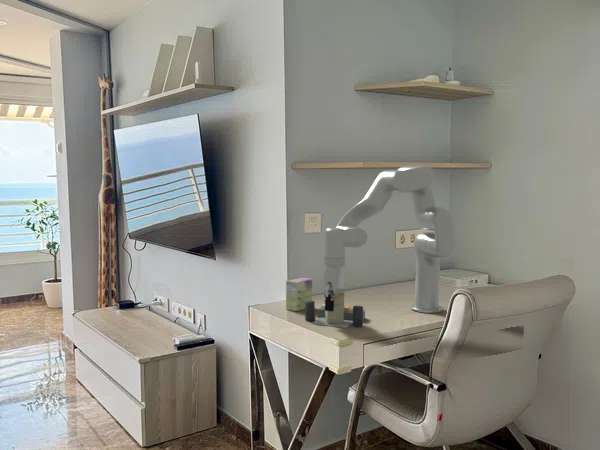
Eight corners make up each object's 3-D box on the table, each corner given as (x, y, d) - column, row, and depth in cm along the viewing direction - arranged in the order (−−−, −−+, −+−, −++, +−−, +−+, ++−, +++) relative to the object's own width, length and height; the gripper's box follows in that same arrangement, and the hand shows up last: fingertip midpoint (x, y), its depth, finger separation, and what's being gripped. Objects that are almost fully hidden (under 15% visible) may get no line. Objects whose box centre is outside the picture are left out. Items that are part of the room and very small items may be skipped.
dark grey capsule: (353, 324, 202) (353, 305, 202) (363, 324, 201) (363, 306, 201) (351, 326, 199) (352, 307, 198) (361, 327, 198) (362, 308, 197)
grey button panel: (323, 313, 218) (323, 302, 218) (365, 318, 211) (365, 306, 211) (307, 323, 203) (307, 311, 202) (352, 328, 196) (352, 316, 196)
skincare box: (327, 323, 201) (328, 290, 200) (324, 320, 205) (325, 288, 204) (344, 322, 202) (344, 290, 201) (340, 319, 207) (341, 287, 206)
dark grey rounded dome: (306, 318, 209) (306, 300, 209) (315, 319, 208) (315, 300, 208) (304, 321, 206) (304, 302, 205) (313, 321, 205) (313, 302, 204)
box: (301, 305, 232) (301, 277, 231) (312, 307, 228) (312, 278, 227) (285, 309, 224) (285, 280, 223) (296, 311, 220) (296, 282, 219)
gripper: (332, 258, 211) (332, 302, 213) (316, 264, 195) (315, 312, 197) (351, 259, 208) (350, 304, 210) (336, 265, 192) (335, 314, 194)
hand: (333, 308), depth 203 cm, fingers open, 9 cm apart
